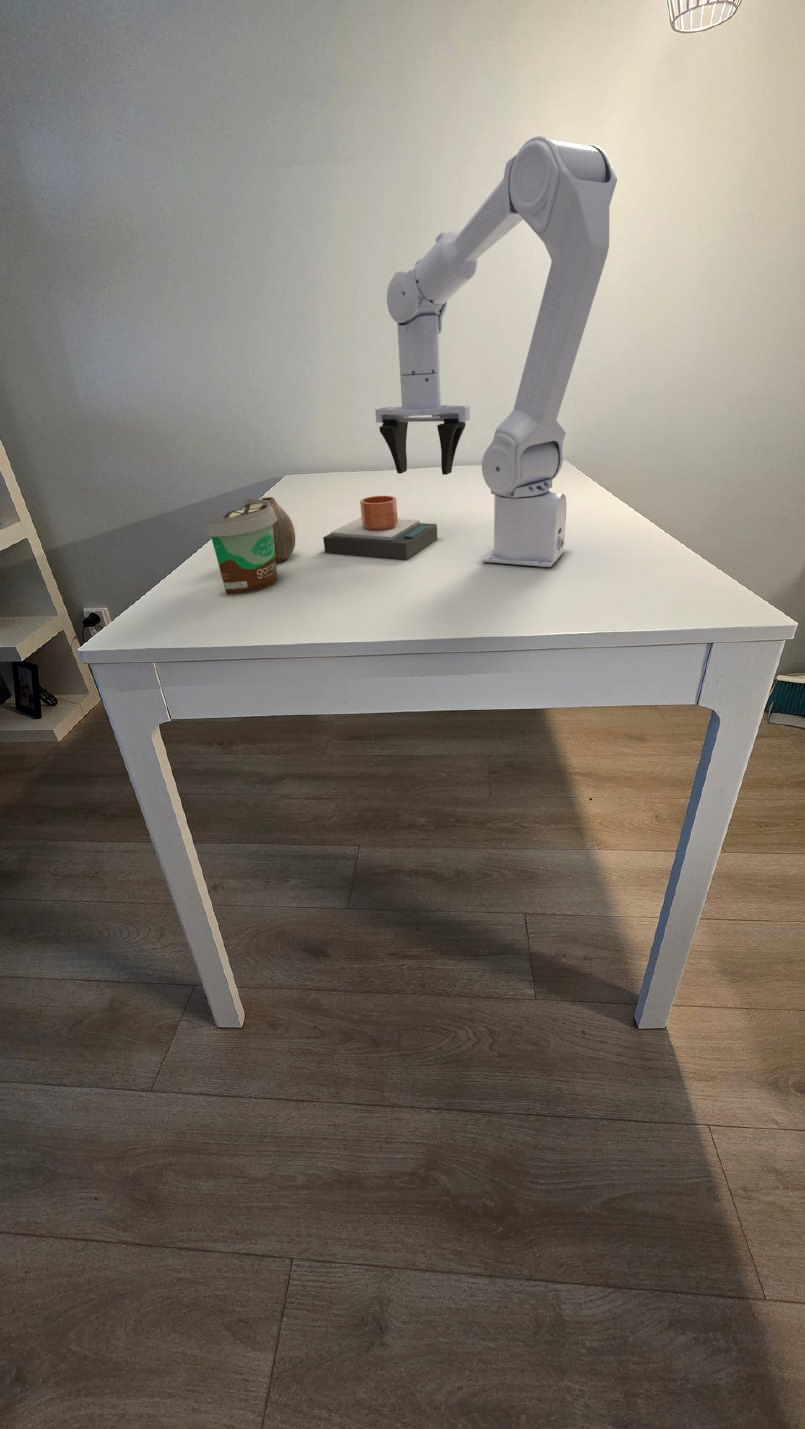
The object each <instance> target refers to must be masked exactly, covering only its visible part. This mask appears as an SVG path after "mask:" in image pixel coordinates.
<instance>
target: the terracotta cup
mask: <svg viewBox="0 0 805 1429" xmlns="http://www.w3.org/2000/svg"><path fill="white" fill-rule="evenodd" d="M397 499H398V498H397V497H396V496H392V495H373V496H368V497H364V498H361V499H360V502H359V504H360V515H361V517H362V525H363V526H365V528H366V529H367V530H373V531H381V530H388V529H392V528H394V527H395V526H396V524H397V523H398V519H399V517H398V516H399V514H398V502H397Z"/></svg>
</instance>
